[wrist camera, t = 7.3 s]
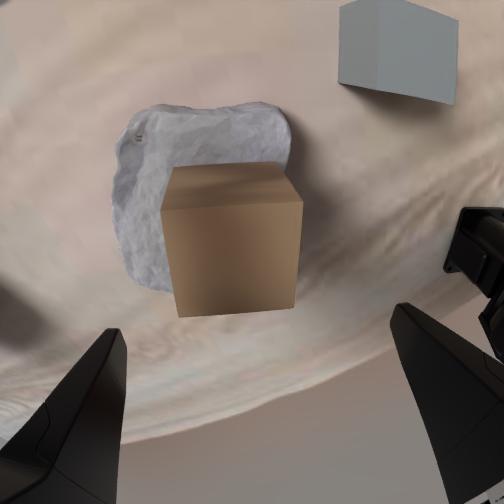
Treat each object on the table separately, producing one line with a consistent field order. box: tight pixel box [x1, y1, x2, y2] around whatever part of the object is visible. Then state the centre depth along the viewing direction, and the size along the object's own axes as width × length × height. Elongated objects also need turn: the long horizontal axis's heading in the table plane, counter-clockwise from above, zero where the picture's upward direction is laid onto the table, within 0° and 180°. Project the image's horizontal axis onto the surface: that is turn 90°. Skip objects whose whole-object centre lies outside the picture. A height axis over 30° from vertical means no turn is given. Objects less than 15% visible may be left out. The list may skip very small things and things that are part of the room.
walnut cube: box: [160, 161, 303, 318], centre depth 14 cm, size 5×5×5 cm
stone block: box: [112, 102, 292, 293], centre depth 19 cm, size 12×5×10 cm
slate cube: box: [338, 0, 458, 105], centre depth 14 cm, size 5×5×5 cm
